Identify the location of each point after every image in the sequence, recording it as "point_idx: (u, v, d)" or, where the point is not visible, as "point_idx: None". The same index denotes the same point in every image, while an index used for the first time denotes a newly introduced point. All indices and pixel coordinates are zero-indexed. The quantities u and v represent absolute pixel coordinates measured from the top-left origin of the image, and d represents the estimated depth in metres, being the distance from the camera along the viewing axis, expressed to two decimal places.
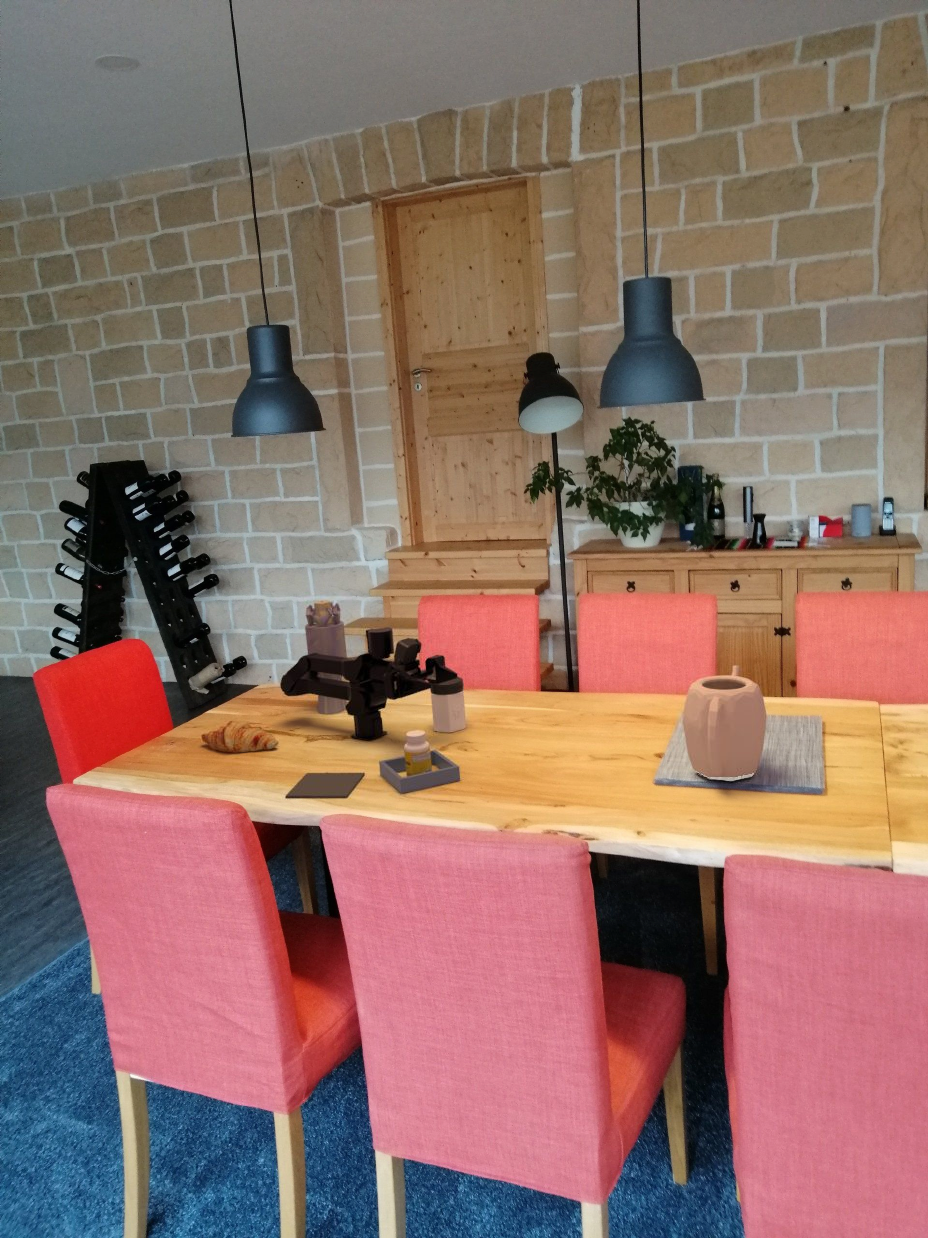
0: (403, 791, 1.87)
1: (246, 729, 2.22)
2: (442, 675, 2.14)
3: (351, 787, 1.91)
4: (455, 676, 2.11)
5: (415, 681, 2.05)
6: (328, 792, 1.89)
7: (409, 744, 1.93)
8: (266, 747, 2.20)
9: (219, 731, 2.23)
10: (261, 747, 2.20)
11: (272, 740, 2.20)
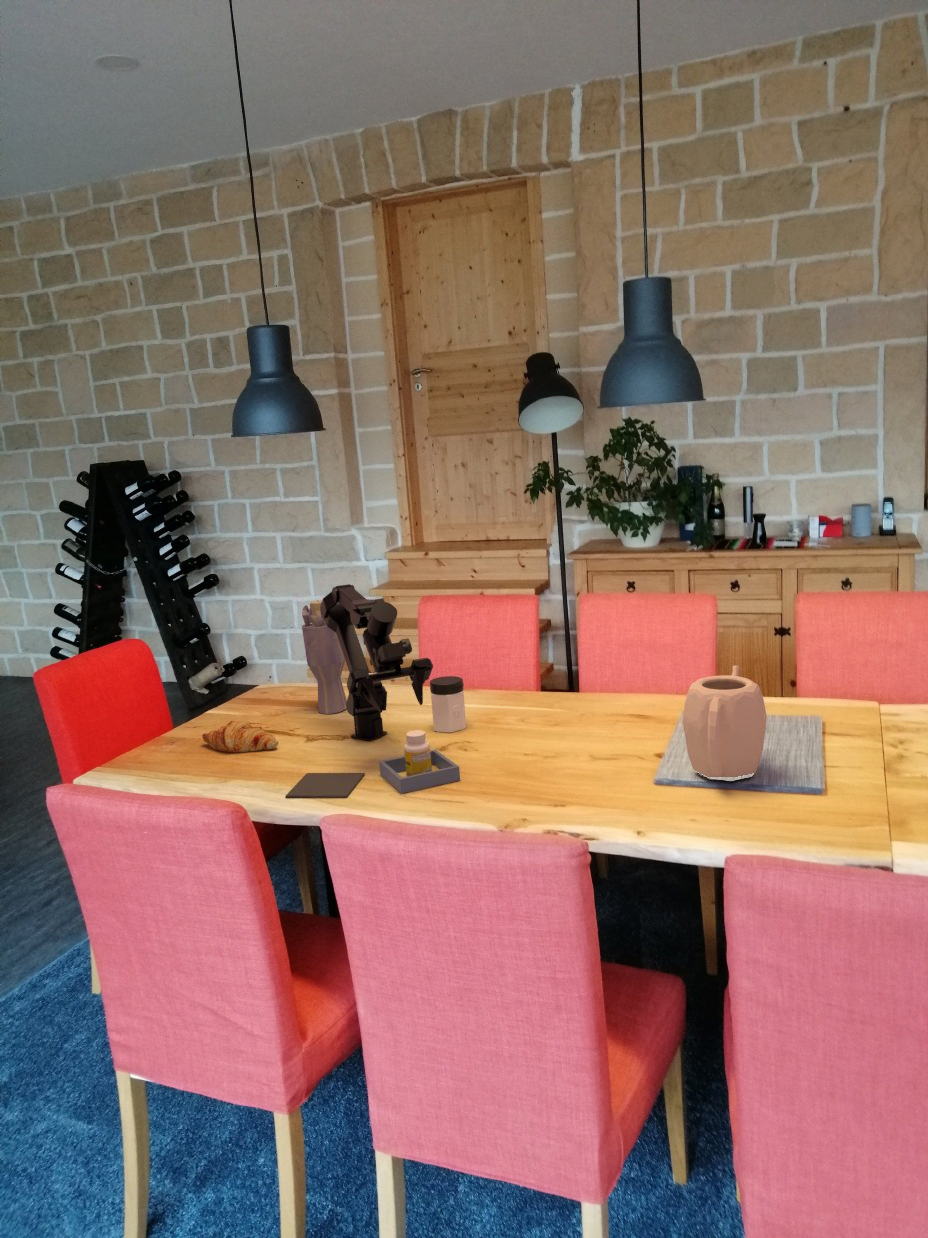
0: (403, 791, 1.87)
1: (246, 729, 2.22)
2: (415, 687, 2.05)
3: (351, 787, 1.91)
4: (420, 703, 2.02)
5: (372, 697, 1.99)
6: (328, 792, 1.89)
7: (409, 744, 1.93)
8: (266, 747, 2.20)
9: (219, 731, 2.24)
10: (261, 747, 2.20)
11: (272, 740, 2.20)
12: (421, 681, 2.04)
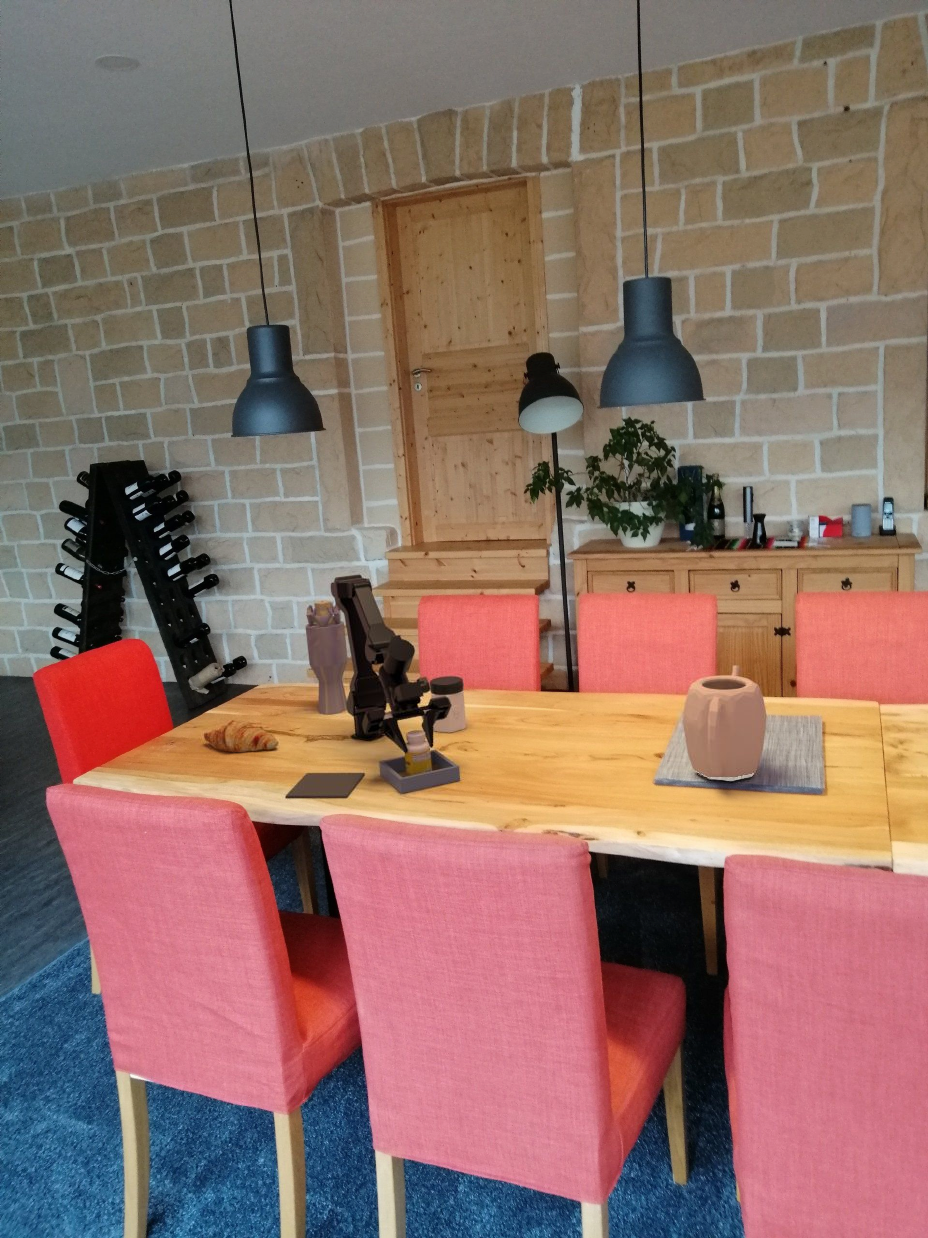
0: (403, 791, 1.87)
1: (247, 729, 2.22)
2: (425, 729, 1.97)
3: (351, 787, 1.91)
4: (430, 746, 1.94)
5: (397, 737, 1.93)
6: (328, 792, 1.89)
7: (409, 744, 1.93)
8: (266, 747, 2.20)
9: (220, 730, 2.24)
10: (261, 747, 2.20)
11: (272, 740, 2.20)
12: (431, 722, 1.96)
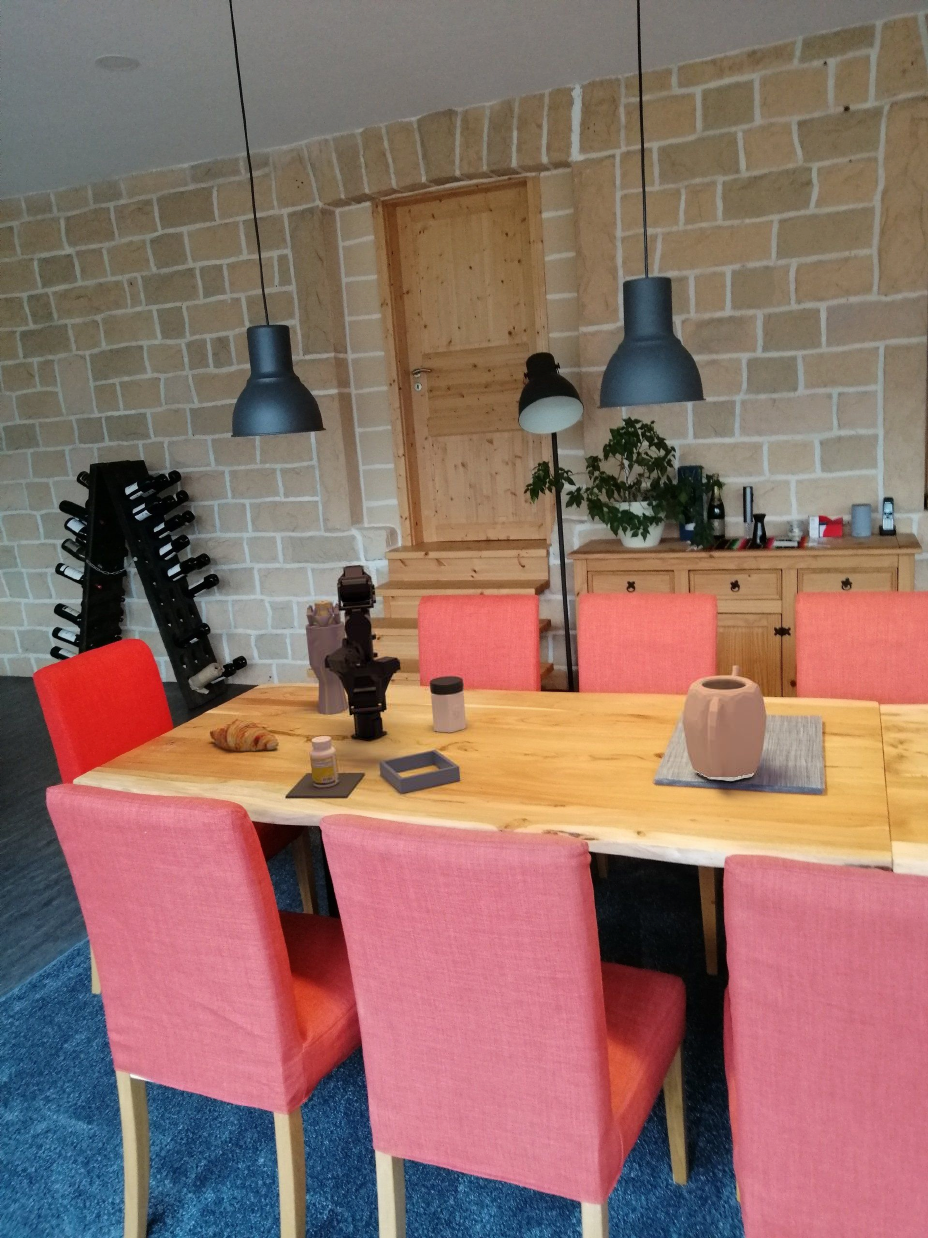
0: (403, 791, 1.87)
1: (249, 728, 2.23)
2: None
3: (351, 787, 1.91)
4: None
5: None
6: (328, 792, 1.89)
7: (313, 748, 1.93)
8: (266, 747, 2.20)
9: (224, 729, 2.25)
10: (261, 747, 2.20)
11: (272, 741, 2.20)
12: (378, 683, 2.05)
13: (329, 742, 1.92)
